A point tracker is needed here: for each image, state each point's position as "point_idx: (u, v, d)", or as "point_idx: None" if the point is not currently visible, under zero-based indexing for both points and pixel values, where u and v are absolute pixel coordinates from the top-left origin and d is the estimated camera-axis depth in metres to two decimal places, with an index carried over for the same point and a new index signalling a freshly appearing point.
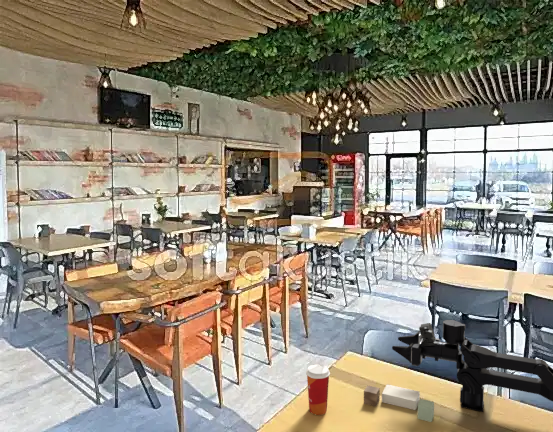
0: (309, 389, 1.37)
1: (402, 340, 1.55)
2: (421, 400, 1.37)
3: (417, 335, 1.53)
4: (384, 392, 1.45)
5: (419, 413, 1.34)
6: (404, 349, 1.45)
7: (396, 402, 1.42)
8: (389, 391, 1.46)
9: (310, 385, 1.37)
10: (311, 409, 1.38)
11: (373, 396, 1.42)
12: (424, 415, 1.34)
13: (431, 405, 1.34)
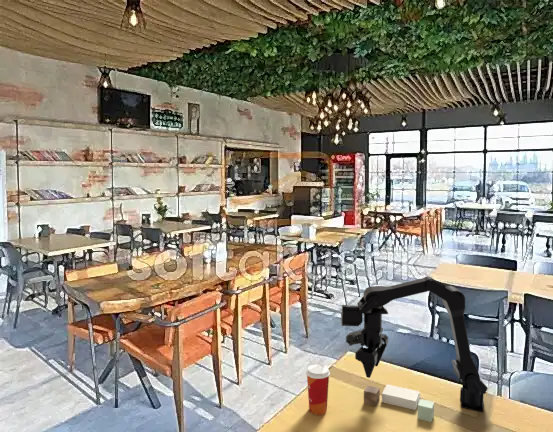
0: (309, 389, 1.37)
1: (377, 362, 1.47)
2: (421, 400, 1.37)
3: None
4: (384, 392, 1.45)
5: (419, 413, 1.34)
6: (365, 365, 1.38)
7: (396, 402, 1.42)
8: (389, 391, 1.46)
9: (310, 385, 1.37)
10: (311, 409, 1.38)
11: (373, 396, 1.42)
12: (424, 415, 1.34)
13: (431, 405, 1.34)
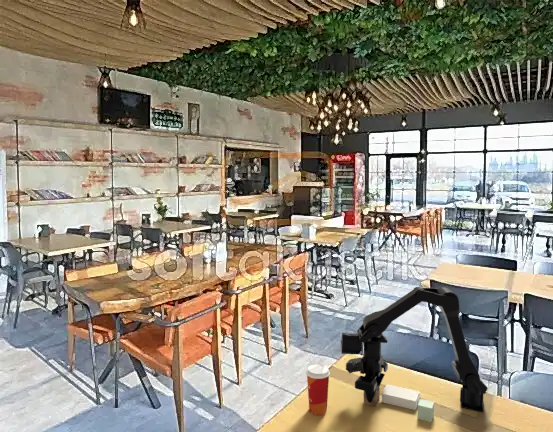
0: (309, 389, 1.37)
1: None
2: (421, 400, 1.37)
3: None
4: (384, 392, 1.45)
5: (419, 413, 1.34)
6: (366, 390, 1.41)
7: (396, 402, 1.42)
8: (389, 391, 1.46)
9: (310, 385, 1.37)
10: (311, 409, 1.38)
11: None
12: (424, 415, 1.34)
13: (431, 405, 1.34)
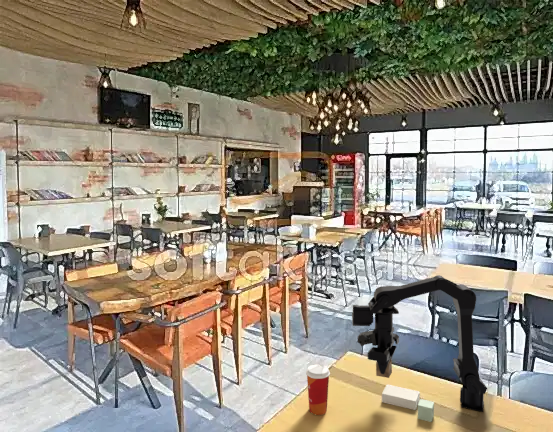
0: (309, 389, 1.37)
1: None
2: (421, 400, 1.37)
3: None
4: (384, 392, 1.45)
5: (419, 413, 1.34)
6: (379, 362, 1.41)
7: (396, 402, 1.42)
8: (389, 391, 1.46)
9: (310, 385, 1.37)
10: (311, 409, 1.38)
11: None
12: (424, 415, 1.34)
13: (431, 405, 1.34)
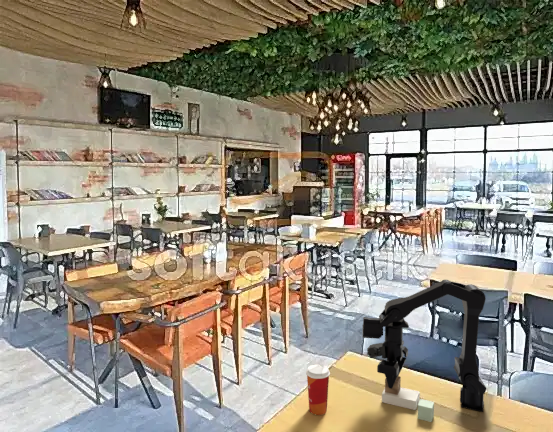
0: (309, 389, 1.37)
1: None
2: (421, 400, 1.37)
3: None
4: (384, 392, 1.45)
5: (419, 413, 1.34)
6: (387, 376, 1.41)
7: (396, 402, 1.42)
8: None
9: (310, 385, 1.37)
10: (311, 409, 1.38)
11: (395, 384, 1.43)
12: (424, 415, 1.34)
13: (431, 405, 1.34)
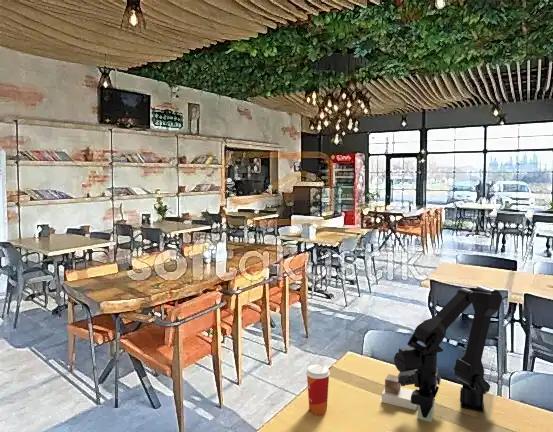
0: (309, 389, 1.37)
1: None
2: None
3: None
4: (384, 392, 1.45)
5: (419, 413, 1.34)
6: (421, 405, 1.32)
7: (396, 402, 1.42)
8: None
9: (310, 385, 1.37)
10: (311, 409, 1.38)
11: (395, 384, 1.43)
12: None
13: None
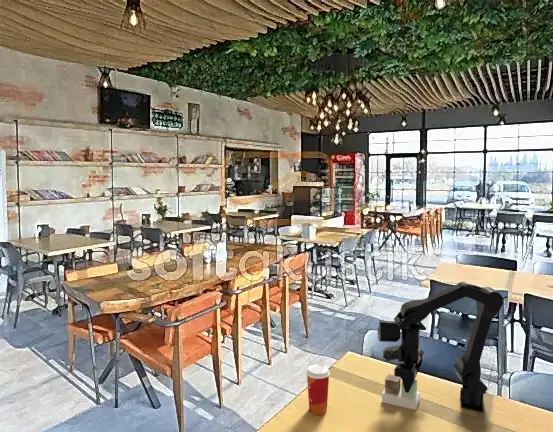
0: (309, 389, 1.37)
1: None
2: None
3: None
4: (384, 392, 1.45)
5: (403, 390, 1.42)
6: (404, 380, 1.38)
7: (396, 402, 1.42)
8: None
9: (310, 385, 1.37)
10: (311, 409, 1.38)
11: (395, 384, 1.43)
12: None
13: (414, 383, 1.42)
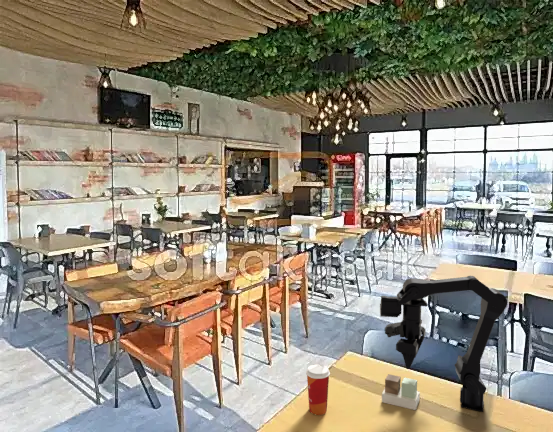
0: (309, 389, 1.37)
1: None
2: (405, 378, 1.45)
3: None
4: (384, 392, 1.45)
5: (403, 390, 1.42)
6: (405, 356, 1.39)
7: (396, 402, 1.42)
8: None
9: (310, 385, 1.37)
10: (311, 409, 1.38)
11: (395, 384, 1.43)
12: (407, 392, 1.41)
13: (414, 383, 1.42)
